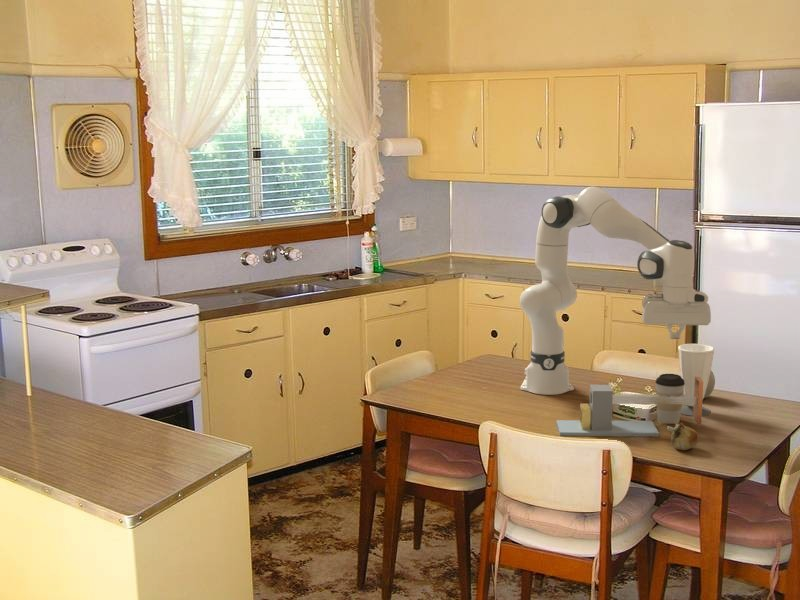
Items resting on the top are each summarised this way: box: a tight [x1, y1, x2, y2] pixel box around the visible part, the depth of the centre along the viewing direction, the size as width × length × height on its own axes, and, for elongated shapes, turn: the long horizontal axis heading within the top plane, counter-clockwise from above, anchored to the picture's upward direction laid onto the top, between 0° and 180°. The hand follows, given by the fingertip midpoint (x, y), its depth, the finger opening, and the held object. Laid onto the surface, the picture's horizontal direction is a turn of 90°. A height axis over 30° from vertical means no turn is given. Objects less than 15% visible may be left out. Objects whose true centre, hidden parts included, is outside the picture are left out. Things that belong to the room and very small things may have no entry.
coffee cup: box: [655, 373, 685, 425], centre depth 312 cm, size 9×9×15 cm
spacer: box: [579, 403, 591, 430], centre depth 305 cm, size 6×2×6 cm, turn 176°
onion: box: [666, 421, 699, 451], centre depth 287 cm, size 8×8×8 cm
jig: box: [555, 384, 660, 437], centre depth 304 cm, size 12×30×14 cm, turn 86°
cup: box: [677, 343, 715, 417], centre depth 321 cm, size 12×12×22 cm
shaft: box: [612, 377, 704, 425], centre depth 303 cm, size 6×29×14 cm, turn 86°
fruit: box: [703, 370, 716, 399], centre depth 336 cm, size 10×12×15 cm
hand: (674, 338), depth 300 cm, fingers closed
